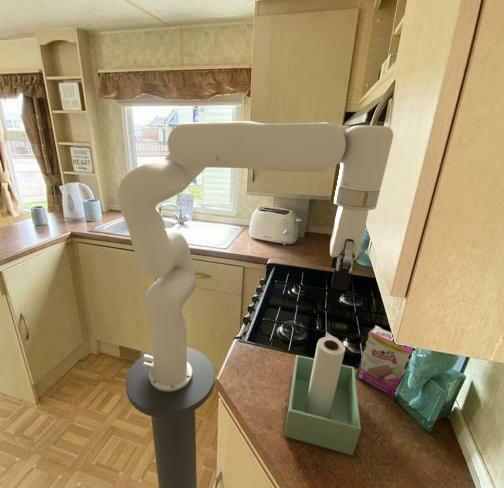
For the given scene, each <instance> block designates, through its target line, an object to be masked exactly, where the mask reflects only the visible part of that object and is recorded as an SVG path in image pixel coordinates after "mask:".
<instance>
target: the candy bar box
mask: <svg viewBox="0 0 504 488" xmlns="http://www.w3.org/2000/svg"><path fill="white" fill-rule="evenodd" d="M392 333H393V332H391V331H389V330H387V329H385V328H383V327H380V326H378V325H375V326H374V327H373V328H372V329H370V330H369V332H368V334H367V337H366V341H365V344H364V348H363V352H362V355H361V359H360V362H359V365H358V369H357V371H356V375H355V378H358V379H359V380H361V381H364V382H365V383H367V384H369V385H370V386H372V387H373V388H375V389H377V390H378V391H380V392H382V393H385V394H386V395H387V396H389V397H391V398H393V399H396V398H397V396H395V392H396V389H397V387H398V385H399V384H400V382H401V381H402V379H403V376H404V374H405V371H406V369H407V367H408V365H409V362H410V359H411V357H412V353H413V351H415V350H416V349H415V348H411V347H404V346H399V345H396V344H394V342H393V337H392ZM416 351H417V350H416Z"/></svg>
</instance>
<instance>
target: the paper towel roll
mask: <svg viewBox="0 0 504 488" xmlns="http://www.w3.org/2000/svg"><path fill="white" fill-rule="evenodd" d="M345 353H346V346H345V344H344V343H343V342H342V341H341V340H340V339H339V338H338V337H336V336H333V335H332V334H331V333H329V332H328V331H326V332H325V336H324V337H321V338H318V340H317V342H316V348H315V354H314V358H313V359H314V364H313V369H312V374H311V379H310V385H309V390H308V395H307V400H306V406H305V409H306V412H307V413H308V414H312V415H315V416H319V417H323V418H328V417H329V415H330V411H331V407H332V402H333V398H334V394H335V390H336V386H337V382H338V378H339V373H340V369H341V365H343V360H344V356H345Z"/></svg>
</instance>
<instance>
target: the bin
mask: <svg viewBox="0 0 504 488" xmlns="http://www.w3.org/2000/svg"><path fill="white" fill-rule="evenodd" d="M313 364H314V358H312V357H308V356H304V355H298V354H296V355H295V361H294V366H293V372H292V379H291V386H290V394H289V399H288V400H289V401H288V409H287V415H286V416H287V417H286V424H285V430H284V437H285V438H289V439H292V440H296V441H299V442H300V441H301V442H304V443H308V444H311V445H314V446H318V447H322V448H325V449H328V450H333V451H336V452H339V453H343V454H346V455H350V456H354V453H355V450H356V448H357V444H358V440H359V437H360V434H361V430H362V427H361V416H360V407H359V406H360V405H359V398H358V389H357V380H356V378H357V377H356V371H355V367H354V366H350V365H346V364H342V365H341V369H340V373H339V378H338V382H337V386H336V390H335V394H334V398H333V402H332V407H331V411H330V415H329V417H328V418H323V417H319V416H315V415H312V414H308V413H307V412H306V409H305V406H306V400H307V395H308V390H309V385H310V379H311V374H312V369H313Z"/></svg>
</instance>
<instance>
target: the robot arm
mask: <svg viewBox="0 0 504 488" xmlns="http://www.w3.org/2000/svg"><path fill="white" fill-rule="evenodd" d="M393 139H394V131H393V129H392V127H391V128H390V127H389V126H385V125H370V124H369V125H368V124H357V125H353V126H352V125H351V126H350V125H344V124H337V123H332V122H327V121H321V122H307V123H304V122H303V123H262V122H257V121H253V120H236V121H235V120H233V121H232V120H231V121H198V122H196V121H193V122H192V121H191V122H184V123H180V124H178V125H176V126H175V127H174V128H172V129H171V131H170V132H169V134H168V137H167V142H166V144H167V145H166V146H167V152H168V154H167V156H165V157H164V159H162V160H158V161H154V162H149V163H146V164H142V165H140V166H137V167H136V168H134V169H132V170H131V171H129V173H127V174H126V175H125V176H124V177H123V179H121V182H120V183H119V186H118V189H117V202H118V207H119V209H120V211H121V214H122V216H123V219H124V221H125V225H126V227H127V230H128V233H129V237H130V241H131V244H132V247H133V248H132V249H133V251H134V254H135V258H136V261H137V264H138V267H139V269H140V271H141V273H142V274H143V275H144V276H145V277H147V278H148V279H152V280H153V279H156V280H155V281H154V282H153V283H152V284H151V285H150V286H149V288H148V289H147V290H146V292H145V295H144V297H143V306H144V310H145V313H146V315H147V319H148V324H149V330H150V331H149V333H150V339H151V340H150V342H151V351H152V354H153V357H151V356H148V355H145V354H143V355H144V357H143V361H145V362H150V363H151V364H149V363H145V362H144V363H143V367H145V368H149V369H150V372H149V380H150V383H151V384H152V386H153V387H155V388H156V389H158V390H161V391H166V392H170V391H176V390H179V389H181V388H183V387H185V386H186V385H187V384H188V383H189V382H190V380H191V378H192V367H191V365H190V364H189V363H188V362H187V350H186V347H187V325H186V319H185V317H184V314H183V308H184V305H185V304H186V303H187V301H188V300H189V298H190V297H191V295H192V294H193V292H194V291H195V289H196V286H197V277H196V276H197V275H196V272H195V267H194V262H193V258H192V254H191V250H190V247H189V243H188V241H187V239H186V238H185V236H184V235H183V234H182V233H181V232H179V231H178V230H176V229H173V228H166V225H165V224H166V223H165V220H164V218H163V216H162V214H161V212H160V210H159V209H158V208H157V205H159V204H161V203H163V202H165V201H167V200H170V199H172V198H173V197H175V196H178V195H179V194H181V193H182V192H184V191H185V190H186V189H187V188H188V187H189V186H190V185H191V184H192V183H193V182H194V181H195V180H196V178H197V177H199V175H200V174H201V173H202V172H204V171H205V169H206V168H220V169H221V168H224V169H225V168H227V169H246V170H247V169H248V170H262V171H263V170H264V171H274V172H302V173H303V172H305V173H307V172H310V173H312V172H313V173H314V172H316V173H317V172H324V171H327V170H330V169H332V168H333V167H335V166H336V165H338V164H339V165H340V166H339V167H340V168H339V174H338V179H337V183H336V189H335V194H334V199H333V204H334V205H336V206H338V207H337V210H336V213H335V217H334V218H335V219H334V223H333V224H334V225H333V229H332V233H331V237H330V242H329V255H330V257H331V264H330V268H331V269H333V274H332V278H331V284H330V288H331V289H334V290H339V291H340V290H341V291H348V290H349V288H350V283H351V280H352V275H353V265H354V261H355V260H356V261H357V259H358V257H359V254H360V249H361V246H362V243H363V238H364V234H365V229H366V224H367V222H368V221H367V220H368V216H369V211H372V210H375V209H376V208H377V205H378V201H379V197H380V193H381V189H382V184H383V180H384V176H385V172H386V169H387V164H388V160H389V157H390V151H391V148H392V144H393Z"/></svg>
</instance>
